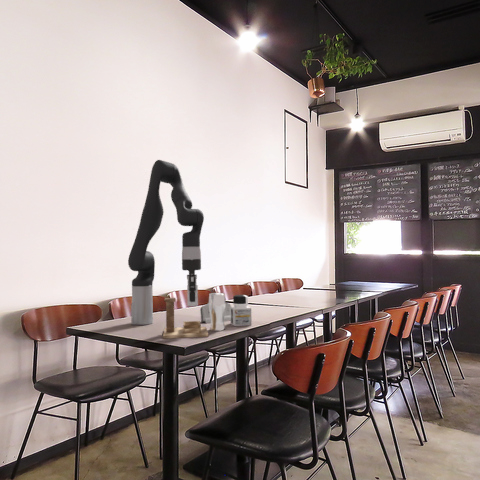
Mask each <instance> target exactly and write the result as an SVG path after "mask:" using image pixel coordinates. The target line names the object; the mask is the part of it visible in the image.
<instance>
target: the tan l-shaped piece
mask: <svg viewBox="0 0 480 480" xmlns="http://www.w3.org/2000/svg"><path fill="white" fill-rule="evenodd" d="M176 301H177V300H176V297H165V298H164V302H165V310H166V311H165V318H166V319H165V320H166V321H165V322H166V327H165V328H164V331H163V334H162V338H163V339H178V338H179V339H181V338H182V339H183V338H184V339H186V338H204V337H205V338H207V337H209V332H208V330H207V329H208V328H207V326H202V325H201V320H194V321H193V320H190V321H189V320H188V321H183V322H182V323H183V325H182V326H183V327H175V303H176Z"/></svg>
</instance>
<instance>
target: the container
mask: <svg viewBox="0 0 480 480" xmlns="http://www.w3.org/2000/svg"><path fill="white" fill-rule="evenodd" d="M232 302H233V303H232V305H231V307H230V311H231V321H230V324H231V325H232V326H234V327H244V326H252V307H250V306H248V305H249V296H248V295H246V294H235V295H233V298H232Z"/></svg>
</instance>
